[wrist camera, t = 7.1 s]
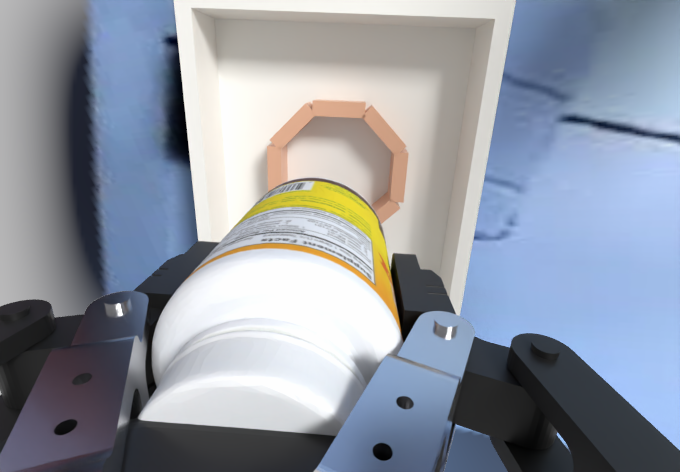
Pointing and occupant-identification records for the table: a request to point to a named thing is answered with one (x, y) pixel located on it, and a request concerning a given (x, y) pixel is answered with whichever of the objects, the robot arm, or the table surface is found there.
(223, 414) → the supplement bottle
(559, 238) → the table surface
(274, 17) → the walled box
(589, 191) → the table surface
